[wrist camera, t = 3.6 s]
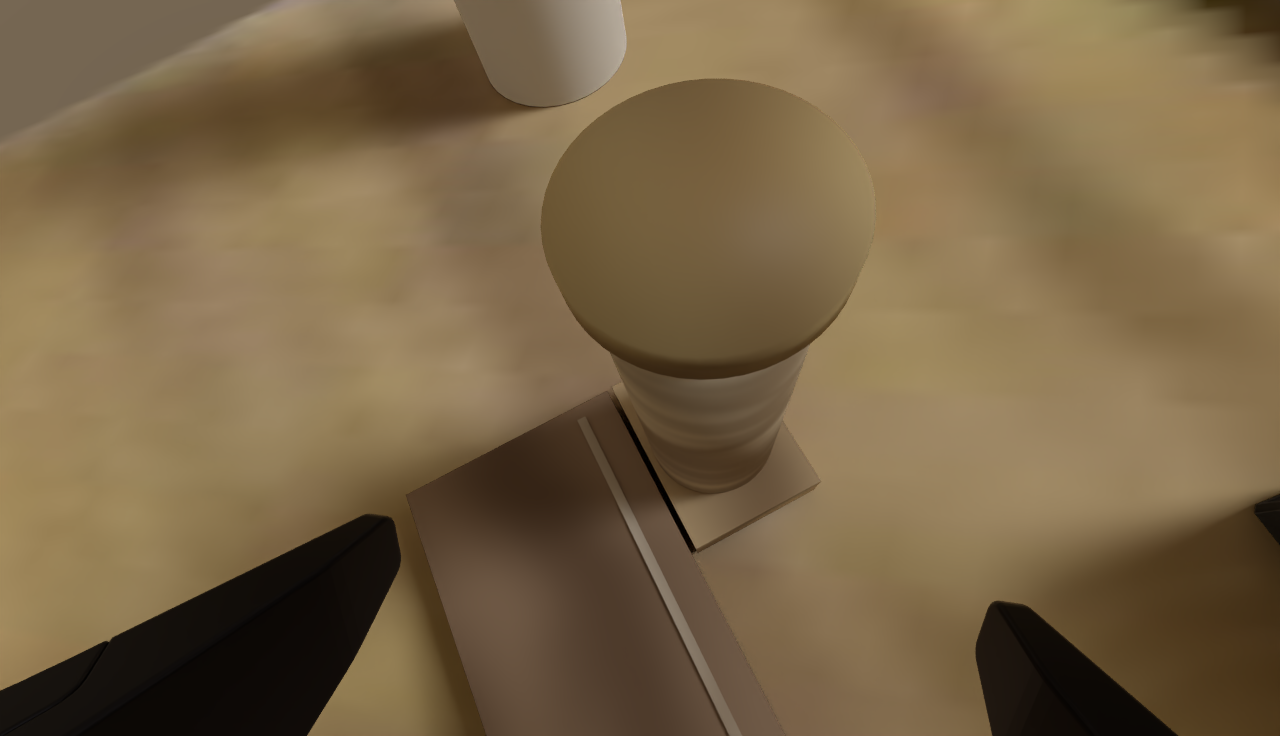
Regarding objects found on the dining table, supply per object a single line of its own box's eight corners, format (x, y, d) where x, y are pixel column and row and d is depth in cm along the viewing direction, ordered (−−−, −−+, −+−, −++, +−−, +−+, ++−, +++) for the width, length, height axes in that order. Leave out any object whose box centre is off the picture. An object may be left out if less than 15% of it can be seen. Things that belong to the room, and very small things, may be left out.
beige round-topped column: (694, 554, 19) (654, 472, 7) (616, 402, 22) (478, 133, 9) (816, 488, 20) (988, 295, 7) (725, 345, 22) (737, 8, 9)
